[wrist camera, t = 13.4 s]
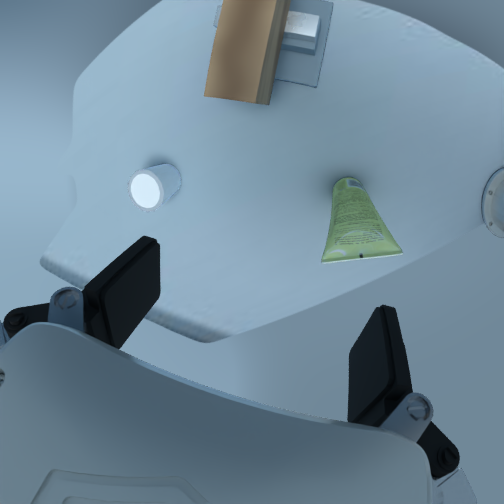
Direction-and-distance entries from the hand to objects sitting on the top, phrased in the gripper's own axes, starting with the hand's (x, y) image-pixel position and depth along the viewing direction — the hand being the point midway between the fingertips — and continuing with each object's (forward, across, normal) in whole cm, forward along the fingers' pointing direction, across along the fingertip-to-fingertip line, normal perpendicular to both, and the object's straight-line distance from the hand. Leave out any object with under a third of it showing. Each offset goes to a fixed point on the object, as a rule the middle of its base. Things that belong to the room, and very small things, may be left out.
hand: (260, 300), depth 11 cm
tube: (+32, -7, +3) cm, 33 cm away
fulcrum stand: (+32, +8, -18) cm, 38 cm away
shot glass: (+32, +22, +8) cm, 40 cm away
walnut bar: (+24, +8, -18) cm, 31 cm away
